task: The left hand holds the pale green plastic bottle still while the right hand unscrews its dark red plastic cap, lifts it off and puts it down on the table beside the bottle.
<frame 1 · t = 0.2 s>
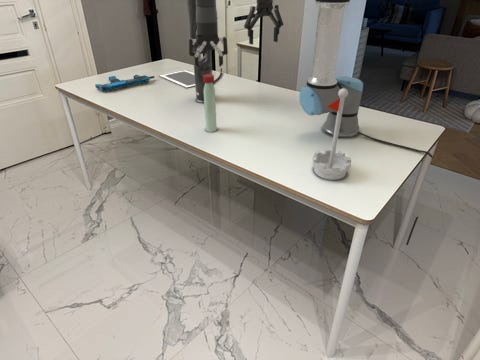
left hand: (209, 66, 130), 29 cm above the table, tool pointing down, fingers open, 8 cm apart
right hand: (263, 42, 166), 29 cm above the table, tool pointing down, fingers open, 13 cm apart
cap: (208, 76, 138), point 24 cm above the table, screwed on, not yet turned
submachine gun: (124, 83, 207), on the table
flag stand: (329, 171, 121), on the table
tablet: (186, 78, 215), on the table
bottle: (211, 129, 151), on the table
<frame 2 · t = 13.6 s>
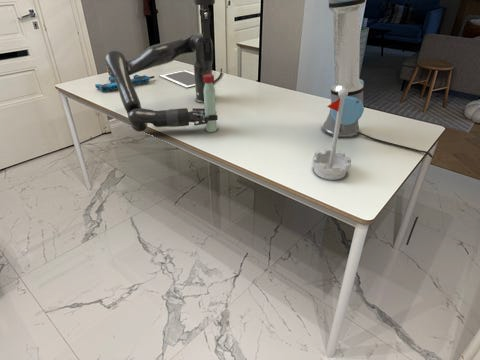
left hand: (216, 115, 148), 7 cm above the table, tool horizontal, fingers closed on bottle, 4 cm apart
right hand: (207, 58, 134), 31 cm above the table, tool pointing down, fingers open, 6 cm apart
bottle: (211, 129, 151), on the table, touching left hand
everything else where it was.
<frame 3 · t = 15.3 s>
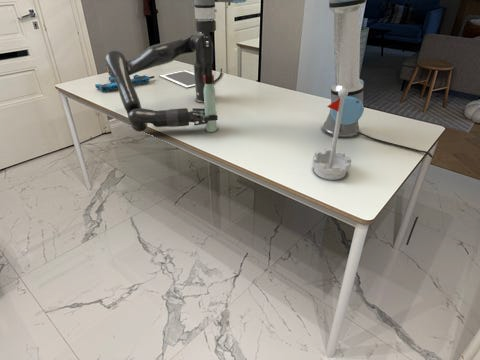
left hand: (216, 115, 148), 7 cm above the table, tool horizontal, fingers closed on bottle, 4 cm apart
right hand: (208, 81, 139), 21 cm above the table, tool pointing down, fingers closed on cap, 4 cm apart
cap: (208, 76, 138), point 24 cm above the table, screwed on, not yet turned, touching right hand
bottle: (211, 129, 151), on the table, touching left hand
everything else where it was.
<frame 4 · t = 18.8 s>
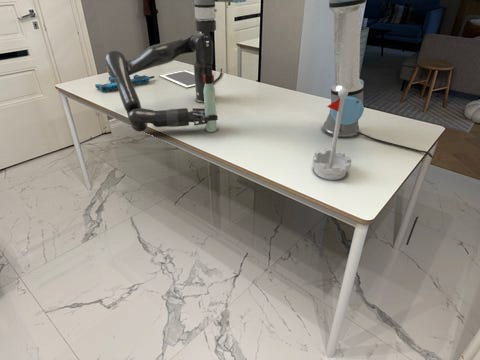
left hand: (216, 115, 148), 7 cm above the table, tool horizontal, fingers closed on bottle, 4 cm apart
right hand: (208, 81, 139), 22 cm above the table, tool pointing down, fingers closed on cap, 4 cm apart
cap: (208, 76, 138), point 24 cm above the table, turned 123° so far, risen 0.1 cm, still on its thread, touching right hand
bottle: (211, 129, 151), on the table, touching left hand
everything else where it was.
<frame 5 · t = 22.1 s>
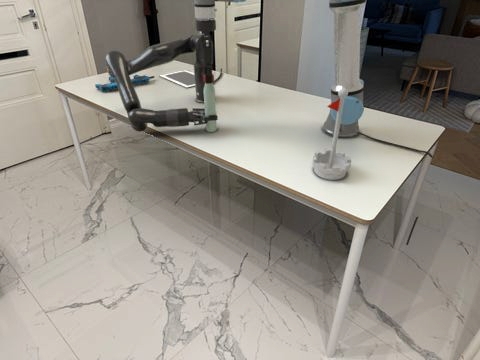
left hand: (216, 115, 148), 7 cm above the table, tool horizontal, fingers closed on bottle, 4 cm apart
right hand: (208, 81, 139), 22 cm above the table, tool pointing down, fingers closed on cap, 4 cm apart
cap: (208, 75, 138), point 24 cm above the table, turned 247° so far, risen 0.2 cm, still on its thread, touching right hand
bottle: (211, 129, 151), on the table, touching left hand
everything else where it was.
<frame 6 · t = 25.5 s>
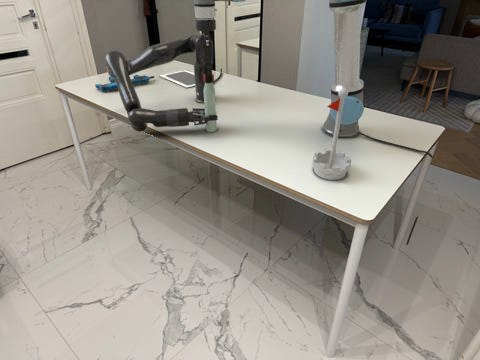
left hand: (216, 115, 148), 7 cm above the table, tool horizontal, fingers closed on bottle, 4 cm apart
right hand: (208, 81, 139), 22 cm above the table, tool pointing down, fingers closed on cap, 4 cm apart
cap: (208, 75, 138), point 24 cm above the table, turned 370° so far, risen 0.3 cm, still on its thread, touching right hand
bottle: (211, 129, 151), on the table, touching left hand
everything else where it was.
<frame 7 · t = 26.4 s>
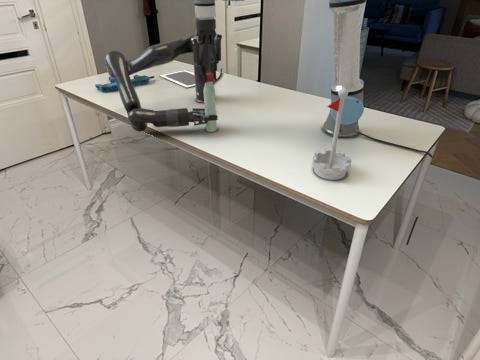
left hand: (216, 115, 148), 7 cm above the table, tool horizontal, fingers closed on bottle, 4 cm apart
right hand: (208, 80, 139), 22 cm above the table, tool pointing down, fingers closed on cap, 4 cm apart
cap: (208, 74, 138), point 24 cm above the table, off its thread, touching right hand
bottle: (211, 129, 151), on the table, touching left hand
everything else where it was.
when the right hand's fingers open (2 cm above the table, at t = 32.1 s): cap drops 2 cm, point 2 cm above the table.
when the left hand's fingers open (7 cm above the table, at t = 33.4 s): bottle stays where it is, on the table.
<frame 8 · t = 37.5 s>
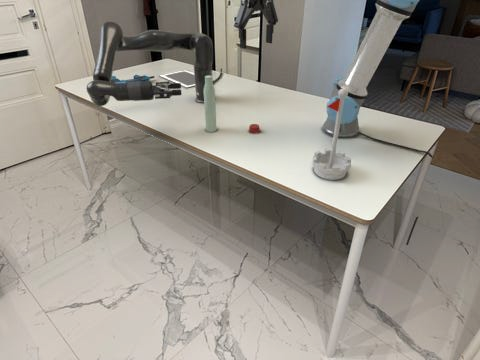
left hand: (181, 88, 139), 19 cm above the table, tool horizontal, fingers open, 8 cm apart
right hand: (256, 45, 130), 36 cm above the table, tool pointing down, fingers open, 13 cm apart
cap: (254, 126, 148), point 2 cm above the table, off its thread
bottle: (211, 129, 151), on the table
everything else where it was.
at the end: cap came off its thread; cap point 2.2 cm above the table; the left hand is holding nothing; the right hand is holding nothing; bottle tilted 0°; bottle moved 0.0 cm from its start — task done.
